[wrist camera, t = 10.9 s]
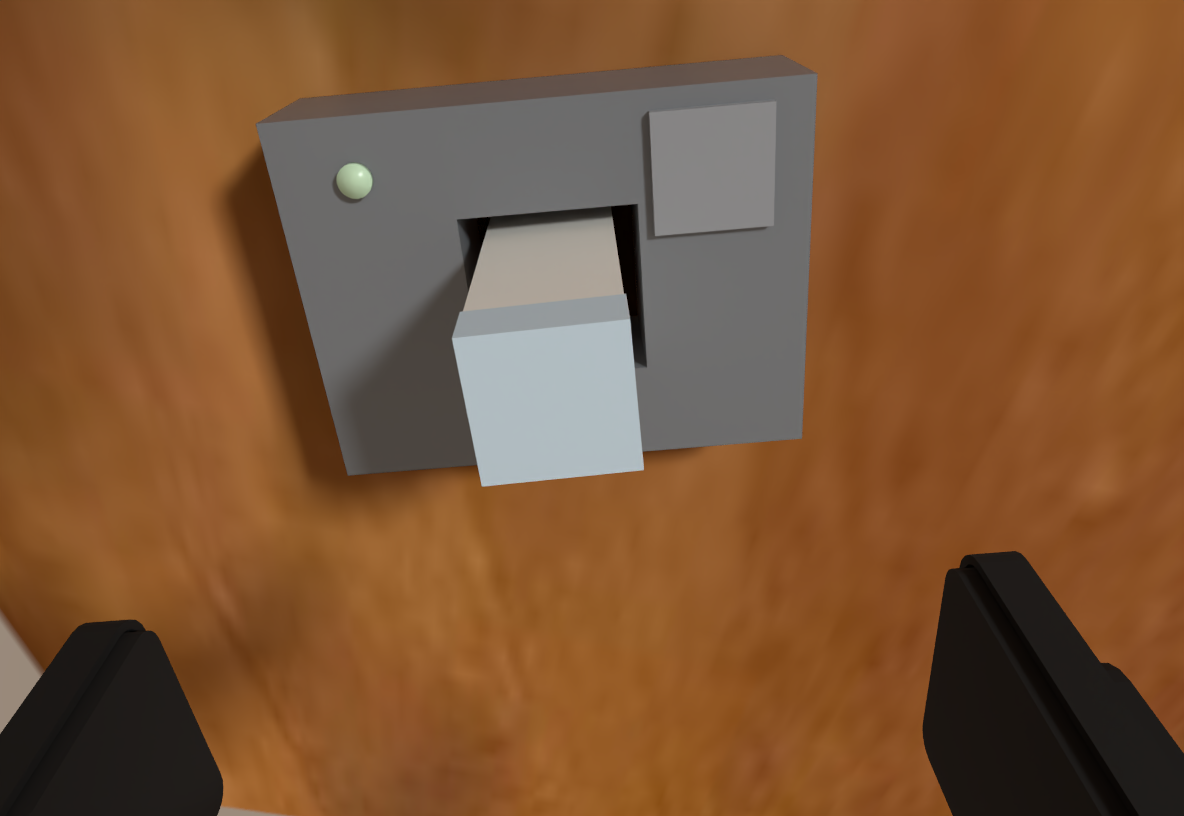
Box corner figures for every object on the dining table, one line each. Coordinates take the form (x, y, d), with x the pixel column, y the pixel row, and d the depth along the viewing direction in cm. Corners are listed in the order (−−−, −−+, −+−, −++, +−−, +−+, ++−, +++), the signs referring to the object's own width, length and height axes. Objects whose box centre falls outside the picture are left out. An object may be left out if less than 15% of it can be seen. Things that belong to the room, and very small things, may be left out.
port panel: (782, 55, 28) (819, 75, 24) (774, 380, 34) (804, 442, 29) (299, 98, 28) (252, 126, 24) (373, 413, 34) (345, 480, 30)
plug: (609, 186, 30) (630, 319, 19) (619, 296, 32) (643, 469, 21) (493, 199, 30) (451, 338, 20) (511, 307, 32) (481, 486, 21)
